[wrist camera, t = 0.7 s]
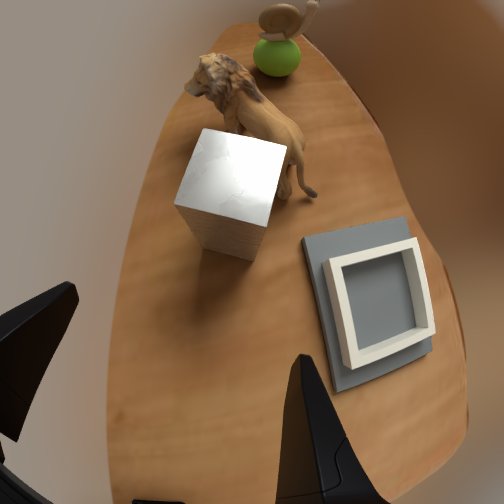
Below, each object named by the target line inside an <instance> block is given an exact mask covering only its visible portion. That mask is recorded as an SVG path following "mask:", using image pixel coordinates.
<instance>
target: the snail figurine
mask: <svg viewBox="0 0 504 504" xmlns="http://www.w3.org/2000/svg"><path fill="white" fill-rule="evenodd" d="M319 2H320V0H319ZM305 6H306V9H305V11H304V13H303V15H302V16H301V14H300V12H299V11H298V9H296V8H295V7H294V6H291V5H289V4H275V5H272V6H269V7H268V8H266V9H265V10H264V11H263V12H262V13H261V15H260V17H259V25H260V27H261V29H263V30H264V31H265V32H266V33H259V34H258V35H259V36H260V37H261V38H262V40H261V41H259V42H258V44H257V45H256V47H255V49H254V53H253V58H254V62H255V64H256V66H257V67H258V68H259V69H260V70H261V71H262V72H263V73H265V74H267V75H270V76H274V77H281V76H286V75H289V74H291V73H292V72H293V71H295V70H296V69H297V67H298V66H299V64H300V60H301V53H300V50H299V48H298V46H297V45H296V43H295V42H294V41H292V40H291V39H292V38H294V37H297V36H299V35H300V34H302V33H303V32H304V31H305V30H306V28H307V27H308V26H309V24H310V23H311V21H312V19H313V17H314V14H315V12H316V11H317V10H318V9H319V3H317V2H316V0H315V1H308V2H307V3H306V5H305Z"/></svg>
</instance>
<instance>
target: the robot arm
mask: <svg viewBox="0 0 504 504" xmlns="http://www.w3.org/2000/svg"><path fill="white" fill-rule="evenodd" d="M78 302H79V296H78V293H77V290H76V287H75V285H74V284H73V283H70V282H68V281H66V282H63V283H61V284H59V285H57V286H56V287H53V288H51V289H49V290H48V291H45V292H43V293H42V294H40V295H38V296H36V297H34V298H32V299H30V300H28V301H26V302H24V303H22V304H21V305H19V306H17V307H15V308H13V309H11V310H9V311H8V312H6V313H4V314H2V315H1V316H0V433H2V434H3V435H5V436H6V437H8V438H10V439H11V440H13V441H15V442H17V441H18V439H19V436H20V432H21V430H22V427H23V424H24V421H25V419H26V416H27V413H28V411H29V408H30V406H31V403H32V401H33V398H34V396H35V393H36V391H37V389H38V386H39V384H40V382H41V380H42V378H43V376H44V373H45V371H46V369H47V367H48V365H49V363H50V361H51V359H52V357H53V355H54V353H55V351H56V349H57V347H58V345H59V343H60V342H61V340H62V338H63V336H64V334H65V332H66V330H67V328H68V325H69V323H70V321H71V318H72V316H73V314H74V312H75V310H76V307H77V305H78ZM4 460H5V457H4V453H3V450H2V446H1V442H0V504H53V503H52V502H50V501H49V500H47V499H46V498H44V497H43V496H41V495H40V494H39V493H37V492H36V491H35V490H33V489H32V488H30V487H29V486H28V485H27V484H25V483H24V482H23V481H22V480H20V479H19V478H18V477H17V476H16V475H14V474H13V473H12V472H11V471H9V470H8V469H7V468H6V467H5V466H4V465H3V463H4ZM132 504H185V503H183V502H165V501H147V500H136V499H134V500H133V501H132ZM275 504H390V503H389V502H387V501H386V500H385V499H383V498H382V497H381V496H380V495H379V494H378V492H377V491H376V489H375V488H374V486H373V485H372V483H371V481H370V480H369V478H368V476H367V475H366V473H365V471H364V470H363V468H362V466H361V464H360V463H359V461H358V459H357V457H356V455H355V453H354V451H353V449H352V447H351V445H350V442H349V440H348V438H347V437H346V433H345V431H344V429H343V427H342V424H341V422H340V420H339V418H338V415H337V413H336V411H335V409H334V406H333V404H332V402H331V400H330V397H329V395H328V393H327V391H326V388H325V386H324V384H323V382H322V379H321V377H320V375H319V373H318V370H317V368H316V366H315V364H314V362H313V359H312V357H311V356H310V355H305V354H299V355H298V357H297V358H296V360H295V362H294V363H293V365H292V367H291V371H290V376H289V382H288V387H287V393H286V398H285V404H284V412H283V427H282V440H281V452H280V463H279V474H278V483H277V493H276V501H275Z"/></svg>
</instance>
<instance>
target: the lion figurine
mask: <svg viewBox="0 0 504 504" xmlns="http://www.w3.org/2000/svg"><path fill="white" fill-rule="evenodd" d="M199 58H200V63H199V68H198V69H197V70H196V71H195V73H194V77H193V78H192V79H191V80H190V81H189V82H187V83H186V84H185V86H184V89H185V90H186V91H188V92H189V93H190V94H191V95H193V96H194V97H200V96H202V95H204V94H205V95H206V98H207V99H208V100H211V101H213V102H214V104H215V107H216V108H217V109H218V110H219V111H220V112H221V113H223V115H224V121H225V125H226V127H227V129H228V131H225V132H226V133H231V134H236V135H238V130H237V126H238V125H239V124H240V123H241V124H242V125H243V126H244V127H245V128H246V129H247V130H248V131H249V132H250V133H251V134H252V135H253V136H255V137H256V138H257V139H259V140H262V141H266V142H271V143H274V144H278V145H282V146H286V151H285V155H284V159H283V163H282V167H281V171H280V175H279V179H278V183H279V185H280V187H278V189H277V196H278V198H280V199H282V200H285V199H287V198H289V197H290V196H291V194H292V190H291V189H292V188H291V185H290V183H289V182H288V179H287V174H286V168H287V166H288V164H291V165H296V164H297V177H298V183H299V185H300V187H301V189H302V190H303V191H304V192H305V193H306V194H307V195H308V196H309V197H312V198H316V197H317V193H316V192H315V191H313V190H312V189H311V188H310V187H308V186H306V185H305V183H304V156H303V150H304V148H305V139H304V136H303V134H302V132H301V131H300V129H299V127H298V125H297V124H296V123H295V122H294V121H292V120H291V119H289V118H288V117H286V116H285V115H284V114H282V113H281V112H280V111H279V110H278V109H277V108H276V107H275V106H274V105H273V104H272V103H271V102H270V101H269V100H268V99H267V98H266V97H265V96H264V95H263V94H261V92H260V91H259V89H258V88H257V86H256V81H255V79H254V77H253V76H251V75H250V74H249V71H248V70H246V69H245V68H244V67H243V66H242V65H241V64H239V63H237V62H236V61H235V60H234V59H233V58H231V57H228V56H226V55H224V54H216V53H211V54H209V55H203V56H199Z"/></svg>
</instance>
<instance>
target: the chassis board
mask: <svg viewBox="0 0 504 504" xmlns="http://www.w3.org/2000/svg"><path fill="white" fill-rule="evenodd" d="M302 243H303V247H304V251H305V255H306V259H307V263H308V267H309V272H310V276H311V280H312V284H313V289H314V293H315V297H316V302H317V306H318V311H319V315H320V320H321V325H322V330H323V335H324V339H325V344H326V350H327V355H328V360H329V365H330V371H331V376H332V382H333V388H334V390H335V391H336V392H340V391H343V390H346V389H349V388H351V387H354V386H357V385H359V384H362V383H364V382H367V381H369V380H372V379H374V378H377V377H379V376H381V375H384V374H386V373H388V372H390V371H393V370H395V369H397V368H399V367H401V366H403V365H406V364H408V363H410V362H412V361H414V360H416V359H418V358H420V357H422V356H423V355H425V354H427V353H429V352H431V351H432V342H431V335H433V334H435V325H434V318H433V311H432V305H431V299H430V293H429V288H428V283H427V278H426V274H425V269H424V265H423V261H422V257H421V253H420V249H419V245H418V241H417V238H416V237H415V238H411V235H410V232H409V228H408V225H407V222H406V218H405V216H403V217H398V218H393V219H388V220H383V221H378V222H373V223H368V224H364V225H359V226H354V227H349V228H344V229H339V230H334V231H329V232H325V233H320V234H315V235H310V236H305V237H303V238H302Z"/></svg>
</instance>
